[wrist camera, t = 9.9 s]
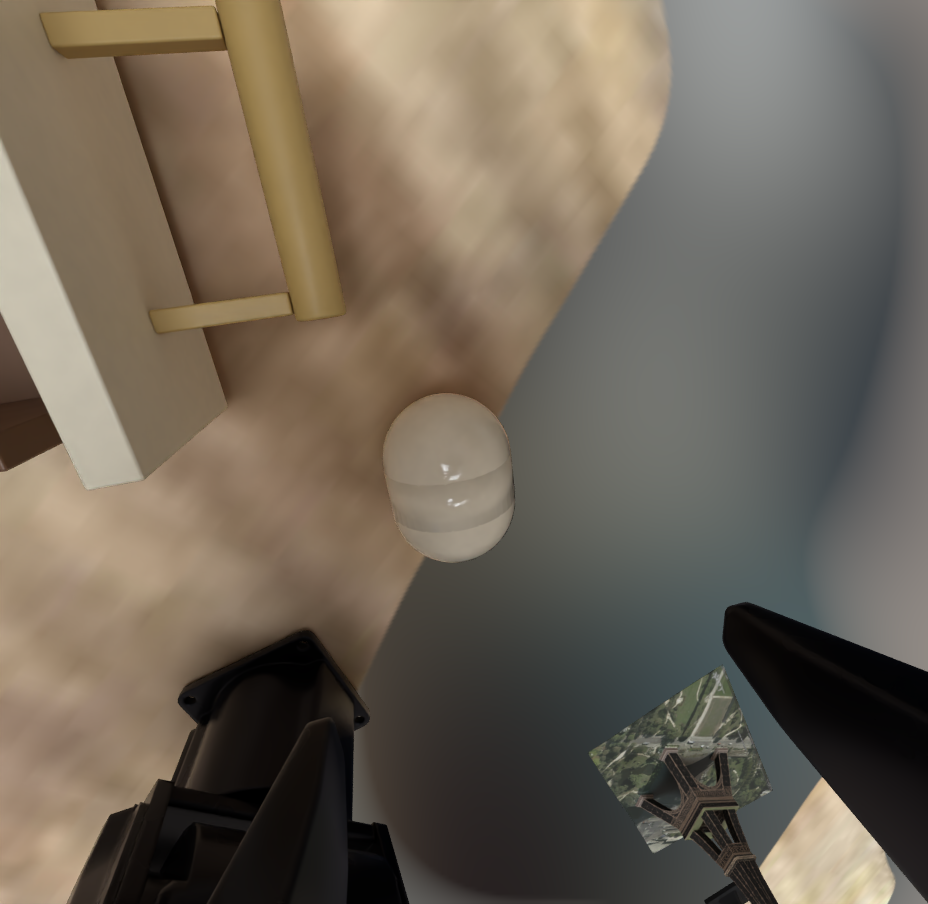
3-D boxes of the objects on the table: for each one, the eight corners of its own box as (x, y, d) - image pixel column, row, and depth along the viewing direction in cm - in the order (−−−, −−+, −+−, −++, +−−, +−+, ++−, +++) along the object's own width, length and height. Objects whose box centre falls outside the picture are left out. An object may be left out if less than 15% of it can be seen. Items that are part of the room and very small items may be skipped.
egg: (369, 393, 18) (371, 426, 13) (485, 373, 19) (523, 398, 14) (399, 535, 20) (409, 602, 16) (500, 512, 21) (537, 571, 17)
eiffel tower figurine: (769, 782, 34) (1005, 1066, 21) (653, 853, 33) (823, 1181, 21) (717, 659, 28) (1002, 953, 15) (577, 745, 28) (751, 1111, 15)
